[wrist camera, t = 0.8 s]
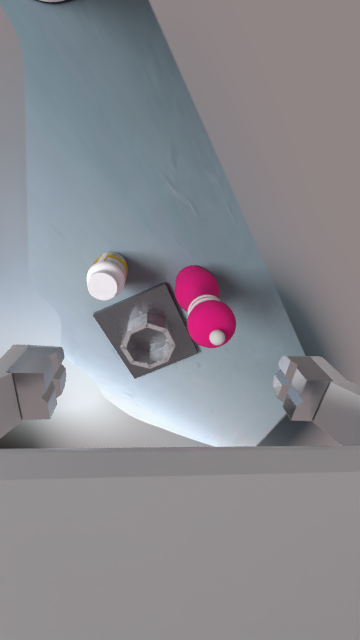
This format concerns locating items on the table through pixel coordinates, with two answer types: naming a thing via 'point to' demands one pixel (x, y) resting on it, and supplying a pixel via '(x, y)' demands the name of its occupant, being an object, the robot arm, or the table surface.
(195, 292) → the pepper mill
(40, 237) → the table surface
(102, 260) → the supplement bottle
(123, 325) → the collar
